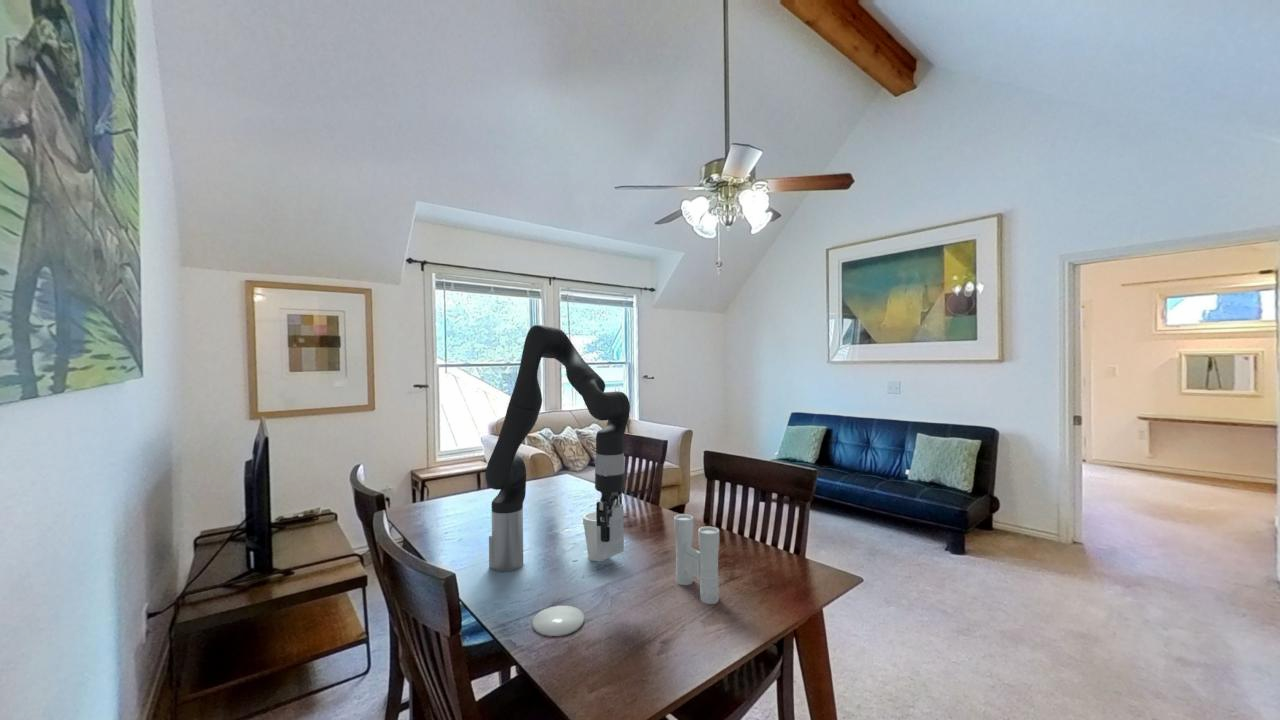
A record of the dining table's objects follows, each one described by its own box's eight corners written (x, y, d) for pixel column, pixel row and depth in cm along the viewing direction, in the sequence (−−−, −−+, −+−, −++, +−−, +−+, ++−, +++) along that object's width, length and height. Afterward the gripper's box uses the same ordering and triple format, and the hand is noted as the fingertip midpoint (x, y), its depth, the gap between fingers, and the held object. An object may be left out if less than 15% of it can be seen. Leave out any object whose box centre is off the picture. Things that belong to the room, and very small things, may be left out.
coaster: (523, 632, 108) (523, 629, 108) (546, 606, 120) (546, 603, 120) (572, 639, 105) (572, 635, 105) (590, 611, 117) (590, 608, 117)
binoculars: (671, 579, 134) (670, 516, 134) (687, 575, 137) (686, 512, 137) (707, 607, 119) (706, 535, 119) (724, 601, 122) (723, 531, 122)
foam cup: (599, 565, 144) (598, 522, 144) (577, 558, 149) (576, 517, 149) (619, 555, 151) (618, 514, 151) (597, 548, 157) (597, 509, 157)
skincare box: (612, 547, 124) (612, 501, 124) (624, 551, 121) (624, 504, 121) (595, 554, 119) (595, 507, 119) (607, 559, 116) (607, 510, 116)
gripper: (604, 463, 128) (604, 525, 128) (585, 476, 114) (586, 545, 114) (631, 465, 126) (631, 527, 126) (615, 478, 112) (615, 548, 112)
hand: (609, 535), depth 120 cm, fingers closed on skincare box, 7 cm apart
